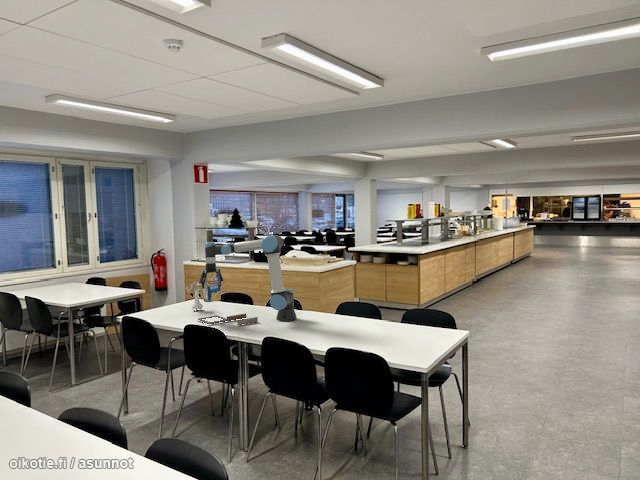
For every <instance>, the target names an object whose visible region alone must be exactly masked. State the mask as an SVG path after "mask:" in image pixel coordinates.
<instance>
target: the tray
mask: <svg viewBox="0 0 640 480" xmlns="http://www.w3.org/2000/svg"><path fill="white" fill-rule="evenodd" d="M212 317H218V318H221V319H223V320H220V321H214V322H208V321H205V320H202V319H206V318H212ZM198 320H200V321H202V322H204V323H207V324H214V323H219V322H225V321H228V320H227V317H224V316H220V315H218V314H217V315H211V316H206V317H205V316H204V317H200V318H197V321H198ZM204 323H203V324H204Z"/></svg>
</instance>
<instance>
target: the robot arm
mask: <svg viewBox="0 0 640 480" xmlns="http://www.w3.org/2000/svg"><path fill="white" fill-rule="evenodd" d="M283 245H284V240H283V238H282V237H281V236H280V235H277V234H273V235H272V234H271V235H267V236H265V237H264V238H260V239H255V240H254V239H253V240H246V241H239V242H233V243H232V242H231V243H225V244H216V242H215V241H210V242H208V241H207V242H205V244H204V252H205V253H204V254H205V255H204V256H205V270H201V275H200V279H199V281H198V282H199V283H198V284H202V288H203V290H202V291H203V292H202V294H203V293H206V286H205V284H204V283H205V282H206V281H205V279H203V278H204V275H205V272H207V273H208V272H216V271H219V272H220V287H221V286H222V282H224V278H223V276H222V273H221V269H220V268H217V263H216V262H217V261H216V260H217V259H216V256H226V255H227V256H228V255H230V254H235V253H243V252H251V251H259V250H263V252H264V256H265V257H267V264H268V270H269V277H270V284H271V290H270V299H269V304H270V307H271V308H272V309H273V310H275V311H277V314H276V316H275V317H276V321H277V320H280V321H279V322H293V321H296V320H297V314H296V311H295V308H294V307H295V305H294V298H295V297H294V289H291V288H289V289H288V288H286V287H284V286H285V285H284V279H283V274H282V273H283V272H282V267H281V260H280V259H281V258H280V255H281V251H282V250H281V249H282V247H283ZM292 320H293V321H292Z"/></svg>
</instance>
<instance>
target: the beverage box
mask: <svg viewBox="0 0 640 480" xmlns="http://www.w3.org/2000/svg"><path fill="white" fill-rule="evenodd" d="M220 273H221V271H220V272H219V271H216V272H208V273H207V272H205V275H204V278H203V279H205V281H206V282H205V283H204V284H205V286H206V293H203V292H202V295H203V302H205V303H212V302H213V303H214V302H218V301H221V300H222V297H221V295H222V293H221V286H220Z"/></svg>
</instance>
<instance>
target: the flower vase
mask: <svg viewBox="0 0 640 480" xmlns="http://www.w3.org/2000/svg"><path fill="white" fill-rule="evenodd" d="M199 282H200V281H192V283H190V287H189V286H188V285H186V287H184V290H186V293H187V294H191V290H193V291H194V302H193V303H192V304H191V309H192V310H193V309H196V310H197V309H201V310H202V309H203V308H204V305H203V303H202V302H201V301H200V296H199V291H201V290H202V291H203V288H202V284H201V283H199Z"/></svg>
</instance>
